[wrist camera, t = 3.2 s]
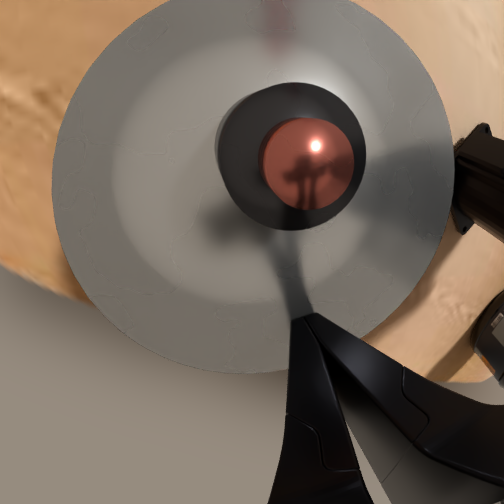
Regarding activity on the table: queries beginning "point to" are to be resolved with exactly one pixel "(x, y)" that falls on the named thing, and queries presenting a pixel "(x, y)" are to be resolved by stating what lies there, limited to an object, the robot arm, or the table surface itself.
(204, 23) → the lid
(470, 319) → the table surface
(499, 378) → the supplement container
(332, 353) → the robot arm
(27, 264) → the table surface
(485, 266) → the table surface
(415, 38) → the table surface
